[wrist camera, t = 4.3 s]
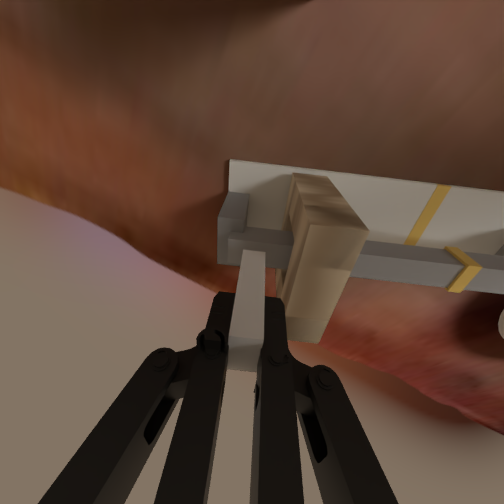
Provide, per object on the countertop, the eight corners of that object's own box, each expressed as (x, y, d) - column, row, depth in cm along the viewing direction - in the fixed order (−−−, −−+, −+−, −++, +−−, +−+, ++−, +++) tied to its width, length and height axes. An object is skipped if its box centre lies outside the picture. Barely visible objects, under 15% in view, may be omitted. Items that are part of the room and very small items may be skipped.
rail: (561, 198, 20) (687, 240, 14) (484, 280, 26) (550, 335, 20) (230, 159, 20) (214, 185, 14) (226, 251, 25) (214, 297, 19)
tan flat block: (327, 176, 19) (369, 231, 11) (301, 264, 24) (318, 343, 17) (292, 172, 19) (310, 224, 11) (274, 261, 24) (278, 339, 16)
